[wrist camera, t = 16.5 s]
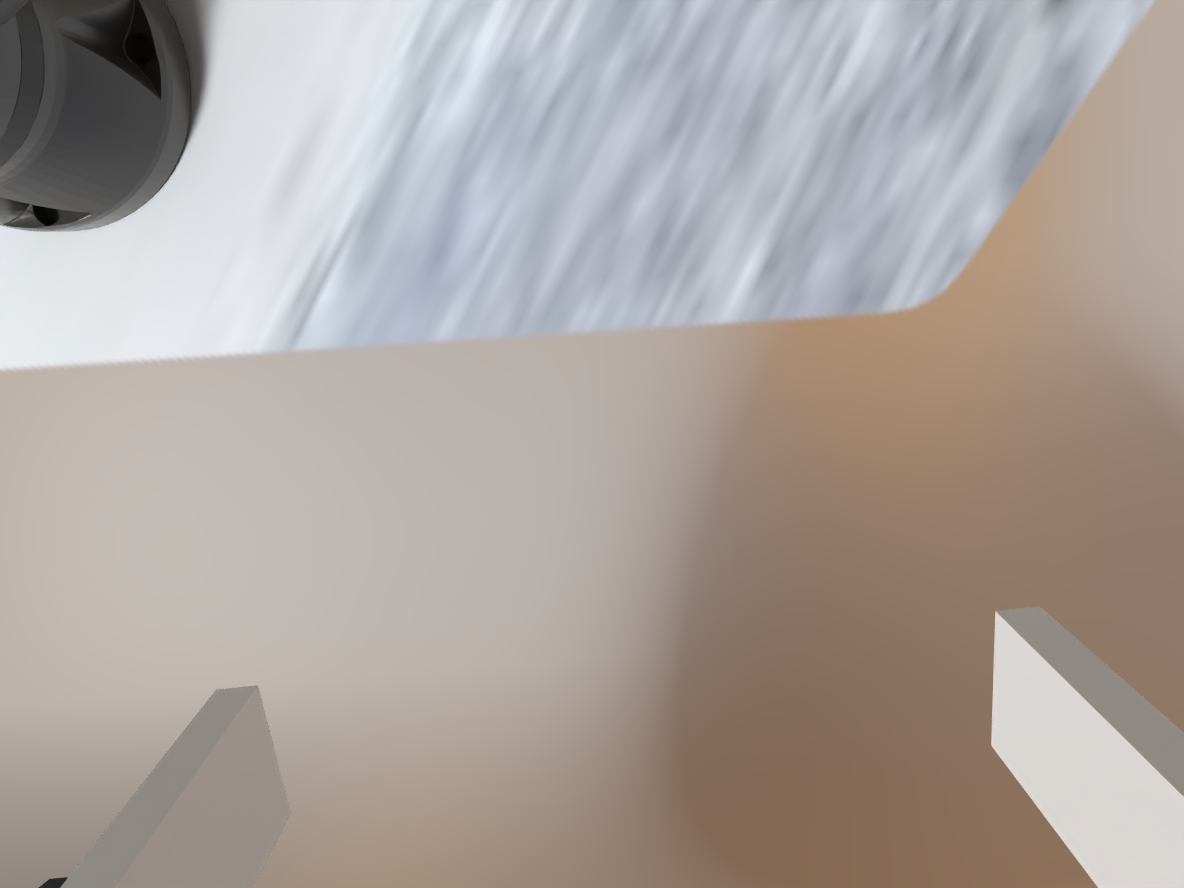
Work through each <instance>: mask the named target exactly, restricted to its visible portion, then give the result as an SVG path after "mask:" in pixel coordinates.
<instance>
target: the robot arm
mask: <svg viewBox="0 0 1184 888" xmlns="http://www.w3.org/2000/svg"><path fill="white" fill-rule="evenodd" d="M190 110H191V86H190V76H189V69H188V63H187V59H186V55H185V50H184V47H183V44H182V41H181V37H180V35H179V32H178V29H177V27H176V24H175V22H174V20H173V18H172V16H171V13H170V12H169V10H168V8H167V6H166V4H165V2H164V1H163V0H0V225H1V226H5V227H10V228H15V229H20V230H28V231H45V232H46V231H80V230H87V229H93V228H97V227H101V226H104V225H108V224H110V223H113V222H116V221H118V220H120V219H122V218H124V217H126V216H128V215H129V214H131V213H133V212H134V211H136V210H137V209H139V208H140V207H141V206H143V205H144V204H145V203H146V202H147V201H149V200H150V199H151V198H152V197H153V196H154V195H155V194H156V193H157V192H158V191H159V189H160V188H161V187H162V186H163V184H164V183H165V182H166V180H167V179H168V177H169V176H170V174H171V172H172V171H173V169H174V167H175V165H176V163H177V161H178V159H179V156H180V154H181V151H182V149H183V146H184V143H185V139H186V135H187V131H188V126H189V119H190ZM993 677H994V678H993V710H992V742H991V743H992V744H991V745H992V747H993V748H994V749H995V751H996V752H997V754H998V755H999V756H1000V758H1001V759H1002V760H1003V761H1004V763H1005V764H1006V766H1007V767H1008V768H1009V770H1010V771H1011V772H1012V773H1013V775H1014V776H1015V777H1016V779H1017V780H1018V782H1019V783H1020V784H1021V785H1022V787H1023V788H1024V790H1025V791H1026V792H1027V793H1028V795H1029V796H1030V798H1031V799H1032V800H1033V801H1034V803H1035V804H1036V805H1037V807H1038V808H1039V809H1040V811H1041V812H1042V813H1043V815H1044V816H1045V817H1046V819H1047V820H1048V821H1049V823H1050V824H1051V825H1052V827H1053V828H1054V829H1055V831H1056V832H1057V833H1058V835H1059V836H1060V837H1061V839H1062V840H1063V841H1064V843H1065V844H1066V845H1067V847H1068V848H1069V849H1070V851H1071V852H1072V853H1073V855H1074V856H1075V857H1076V859H1077V860H1078V861H1079V863H1080V864H1081V865H1082V867H1083V868H1084V869H1085V871H1086V872H1087V873H1088V875H1089V876H1090V877H1091V879H1092V880H1093V881H1094V883H1095V884H1096V885H1097V887H1098V888H1184V733H1183V732H1182V731H1181V730H1180V729H1179V728H1177V727H1176V726H1175V725H1174V724H1173V723H1172V722H1170V721H1169V720H1168V719H1167V718H1166V717H1165V716H1164V715H1163V714H1161V713H1160V712H1159V711H1158V710H1157V709H1156V708H1155V707H1153V706H1152V705H1151V704H1150V703H1149V702H1148V701H1147V700H1146V699H1144V698H1143V697H1142V696H1141V695H1140V694H1139V693H1138V692H1136V691H1135V690H1134V689H1133V688H1132V687H1131V686H1130V685H1128V684H1127V683H1126V682H1125V681H1124V680H1123V679H1122V678H1120V677H1119V676H1118V675H1117V674H1116V673H1115V672H1114V671H1113V670H1111V669H1110V668H1109V667H1108V666H1107V665H1106V664H1105V663H1103V662H1102V661H1101V660H1100V659H1099V658H1098V657H1097V656H1095V655H1094V654H1093V653H1092V652H1091V651H1090V650H1089V649H1087V648H1086V647H1085V646H1084V645H1083V644H1082V643H1081V642H1080V641H1078V640H1077V639H1076V638H1075V637H1074V636H1073V635H1072V634H1070V633H1069V632H1068V631H1067V630H1066V629H1065V628H1064V627H1062V626H1061V625H1060V624H1059V623H1058V622H1057V621H1056V620H1054V619H1053V618H1052V617H1051V616H1050V615H1049V614H1048V613H1046V612H1045V611H1044V610H1043V609H1042V608H1041V607H1032V608H1022V609H1013V610H1002V611H996V613H995V644H994V676H993ZM290 814H291V810H290V806H289V802H288V798H287V795H286V791H285V787H284V783H283V780H282V776H281V772H280V768H279V764H278V760H277V757H276V753H275V749H274V745H273V741H272V738H271V734H270V730H269V726H268V722H267V719H266V715H265V711H264V707H263V704H262V699H261V696H260V692H259V688H258V686H249V687H239V688H229V689H220V690H216V691H215V692H214V693H213V695H212V696H211V697H210V698H209V700H208V701H207V702H206V703H205V705H204V706H203V707H202V708H201V710H200V711H199V712H198V713H197V715H196V716H195V717H194V719H193V720H192V721H191V722H190V724H189V725H188V726H187V727H186V729H185V730H184V731H183V732H182V734H181V735H180V736H179V738H178V739H177V740H176V741H175V743H174V744H173V745H172V746H171V748H170V749H169V751H168V752H167V753H166V754H165V755H164V757H163V758H162V759H161V761H160V762H159V763H158V764H157V765H156V767H155V768H154V769H153V771H152V772H151V773H150V774H149V776H148V777H147V778H146V779H145V781H144V782H143V783H142V785H141V786H140V787H139V788H138V790H137V791H136V792H135V793H134V795H133V796H132V797H131V799H130V800H129V801H128V802H127V804H126V805H125V806H124V807H123V809H122V810H121V811H120V812H119V814H118V815H117V816H116V818H115V819H114V820H113V821H112V823H111V824H110V825H109V826H108V828H107V829H106V830H105V831H104V833H103V834H102V835H101V837H100V838H99V839H98V840H97V842H96V843H95V844H94V845H93V847H92V848H91V850H90V851H89V852H88V853H87V854H86V856H85V857H84V858H83V860H82V861H81V862H80V863H79V864H78V866H77V867H76V868H75V870H74V871H73V872H72V874H71V875H70V876H69V877H67V878H55V879H49V880H48V881H47V882H45V883H44V884H43V885H42V886H40V887H39V888H254V886H255V884H256V882H257V880H258V878H259V876H260V874H261V872H262V870H263V868H264V865H265V864H266V862H267V860H268V858H269V856H270V854H271V851H272V850H273V848H274V846H275V844H276V842H277V840H278V838H279V836H280V834H281V832H282V829H283V828H284V826H285V824H286V822H287V820H288V818H289V816H290Z"/></svg>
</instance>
